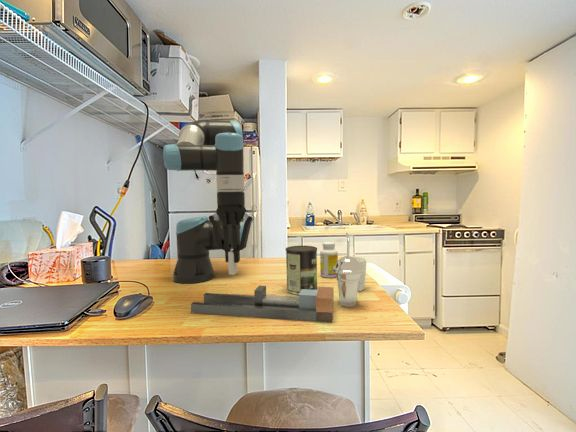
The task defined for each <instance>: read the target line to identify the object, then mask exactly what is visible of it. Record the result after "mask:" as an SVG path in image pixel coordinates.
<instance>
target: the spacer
mask: <svg viewBox="0 0 576 432" xmlns="http://www.w3.org/2000/svg"><path fill="white" fill-rule="evenodd" d="M317 292H318V289H317V290H309V289H301V291H300V293H299V295H298V296H299V308H302V309H316V296H317Z"/></svg>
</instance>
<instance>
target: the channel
mask: <svg viewBox="0 0 576 432" xmlns="http://www.w3.org/2000/svg"><path fill="white" fill-rule="evenodd" d="M317 290H318V292H317V296H316V309H302V308H285V307H268V306H255V295H254V294H253V295H250V294H249V295H248V294H232V293H211V292H209V293H208V292H205V293H204V294H203V302H200V301H199V302H198V301H197V302H196V301H193V302H191V303H190V314H199V315H201V314H202V315H214V316H215V315H216V316H230V317H243V318H244V317H245V318H260V319H276V320H290V321H302V322H303V321H305V322H316V323H317V322H320V323H322V322H323V323H333V319H334V317H333V316H334V309H335V308H334V306H335V305H334V304H335V303H334V301H335V300H334V298H335V295H334V293H335V292H334V286H332V287H331V286H318V288H317Z"/></svg>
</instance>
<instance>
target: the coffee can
mask: <svg viewBox="0 0 576 432" xmlns="http://www.w3.org/2000/svg"><path fill="white" fill-rule="evenodd" d="M285 254H286V256H285V257H286V258H285V259H286V291H287V293H288V294H292V295H294V296H299V293H300V291H301V289H309V290H318V256H317V255H318V248H317V247H316V246H312V245H291V246H287V247H286V248H285Z"/></svg>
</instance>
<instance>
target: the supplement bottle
mask: <svg viewBox="0 0 576 432" xmlns="http://www.w3.org/2000/svg"><path fill="white" fill-rule="evenodd" d="M335 247H336V243H335V242H333V241H325V242H324V241H323V242H322V248H321V250H320V254H319V257H320V261H319V262H320V276H321V277H322V278H327V279H328V278H329V279H330V278H331V279H332V278H336V272H334V271H333V267H334V266H336V263H337V261H338V260H339V258H338V256H339V254H338V253H339V252H338V250H337V249H336V248H335Z"/></svg>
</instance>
